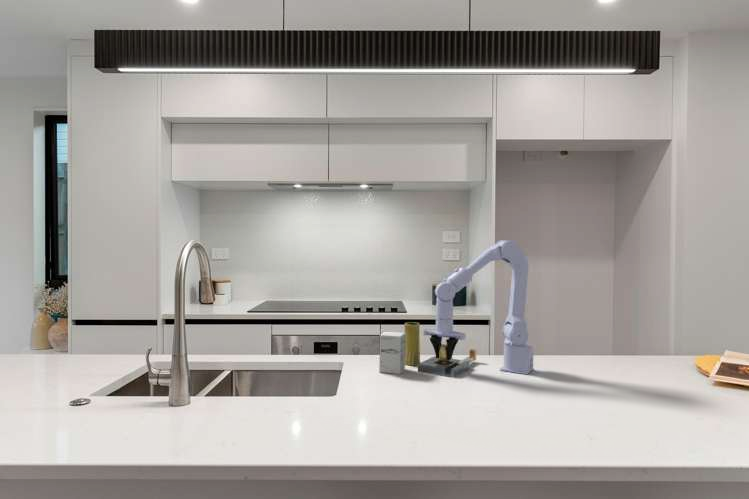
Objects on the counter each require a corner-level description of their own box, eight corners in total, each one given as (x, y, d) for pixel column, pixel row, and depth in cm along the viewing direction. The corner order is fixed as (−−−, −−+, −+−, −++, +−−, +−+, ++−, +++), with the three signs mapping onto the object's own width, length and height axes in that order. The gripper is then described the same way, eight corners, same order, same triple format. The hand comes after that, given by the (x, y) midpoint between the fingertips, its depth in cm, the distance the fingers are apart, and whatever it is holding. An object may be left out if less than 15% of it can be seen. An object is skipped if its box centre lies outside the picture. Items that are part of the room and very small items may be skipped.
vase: (400, 362, 182) (400, 322, 182) (415, 360, 185) (415, 321, 184) (408, 366, 177) (408, 325, 176) (423, 364, 179) (424, 324, 179)
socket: (469, 368, 175) (469, 361, 175) (454, 377, 164) (454, 369, 164) (434, 363, 182) (434, 356, 181) (417, 371, 171) (417, 363, 170)
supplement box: (378, 372, 169) (378, 334, 168) (384, 367, 176) (385, 330, 175) (400, 374, 167) (400, 336, 166) (405, 369, 174) (406, 332, 173)
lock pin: (476, 359, 184) (476, 349, 184) (461, 368, 172) (461, 357, 172) (471, 358, 185) (471, 349, 184) (456, 367, 173) (456, 356, 173)
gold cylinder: (450, 365, 173) (451, 344, 173) (446, 367, 170) (446, 346, 170) (441, 363, 175) (441, 343, 175) (436, 366, 172) (437, 345, 172)
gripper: (419, 318, 173) (419, 357, 173) (459, 322, 165) (459, 364, 165) (428, 315, 179) (428, 353, 179) (468, 319, 171) (467, 359, 171)
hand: (443, 358), depth 172 cm, fingers closed on gold cylinder, 3 cm apart
